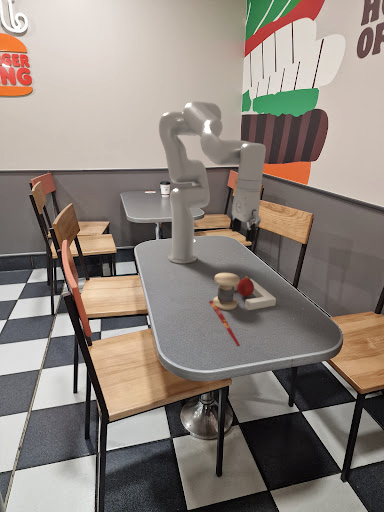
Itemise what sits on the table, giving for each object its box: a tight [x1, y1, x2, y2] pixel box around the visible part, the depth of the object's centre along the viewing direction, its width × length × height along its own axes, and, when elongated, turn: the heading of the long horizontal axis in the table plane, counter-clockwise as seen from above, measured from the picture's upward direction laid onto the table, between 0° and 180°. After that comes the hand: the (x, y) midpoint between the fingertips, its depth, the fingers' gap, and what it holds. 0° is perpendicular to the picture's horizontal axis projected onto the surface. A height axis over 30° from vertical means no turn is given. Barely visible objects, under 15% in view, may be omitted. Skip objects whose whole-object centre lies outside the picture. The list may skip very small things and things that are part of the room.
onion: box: [236, 276, 254, 298], centre depth 108 cm, size 6×6×8 cm
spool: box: [212, 272, 241, 311], centre depth 103 cm, size 8×8×10 cm
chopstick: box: [208, 300, 241, 347], centre depth 95 cm, size 2×24×1 cm, turn 15°
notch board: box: [233, 278, 277, 311], centre depth 110 cm, size 16×10×2 cm, turn 20°
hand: (242, 235), depth 106 cm, fingers open, 9 cm apart
